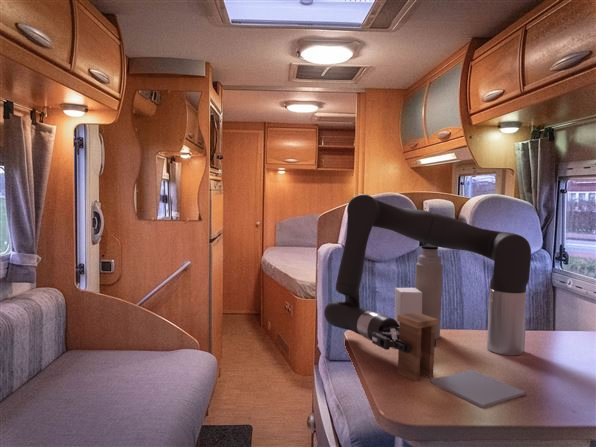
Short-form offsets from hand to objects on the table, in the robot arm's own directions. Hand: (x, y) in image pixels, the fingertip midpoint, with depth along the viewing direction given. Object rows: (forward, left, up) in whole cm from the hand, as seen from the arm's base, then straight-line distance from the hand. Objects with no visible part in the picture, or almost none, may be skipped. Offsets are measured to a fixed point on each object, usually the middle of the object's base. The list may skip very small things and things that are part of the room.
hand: (422, 346), depth 105 cm
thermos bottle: (-26, -24, -8) cm, 36 cm away
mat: (-7, +10, -8) cm, 14 cm away
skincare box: (-16, -22, -8) cm, 28 cm away
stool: (0, -2, -8) cm, 8 cm away
